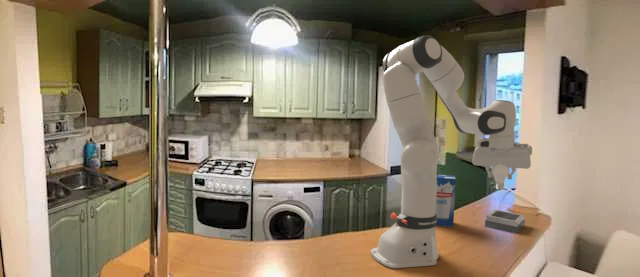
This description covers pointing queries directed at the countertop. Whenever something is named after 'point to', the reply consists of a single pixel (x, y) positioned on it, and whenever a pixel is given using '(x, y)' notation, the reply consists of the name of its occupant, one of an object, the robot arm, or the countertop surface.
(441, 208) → the milk carton
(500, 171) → the lightbulb
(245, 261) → the countertop surface
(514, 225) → the socket
